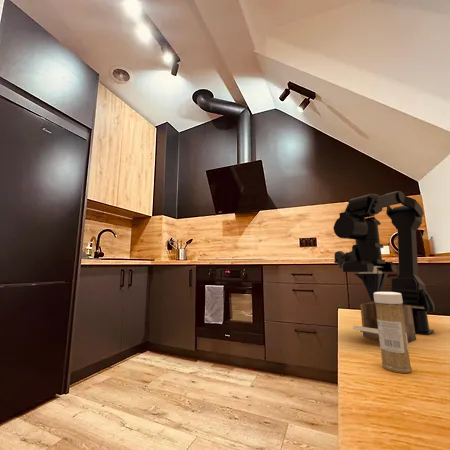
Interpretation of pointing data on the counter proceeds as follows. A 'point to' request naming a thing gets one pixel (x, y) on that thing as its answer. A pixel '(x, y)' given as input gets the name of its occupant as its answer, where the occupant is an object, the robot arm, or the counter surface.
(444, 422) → the counter surface
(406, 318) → the open wooden box
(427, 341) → the counter surface
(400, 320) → the sprinkles bottle
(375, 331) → the cabinet door
